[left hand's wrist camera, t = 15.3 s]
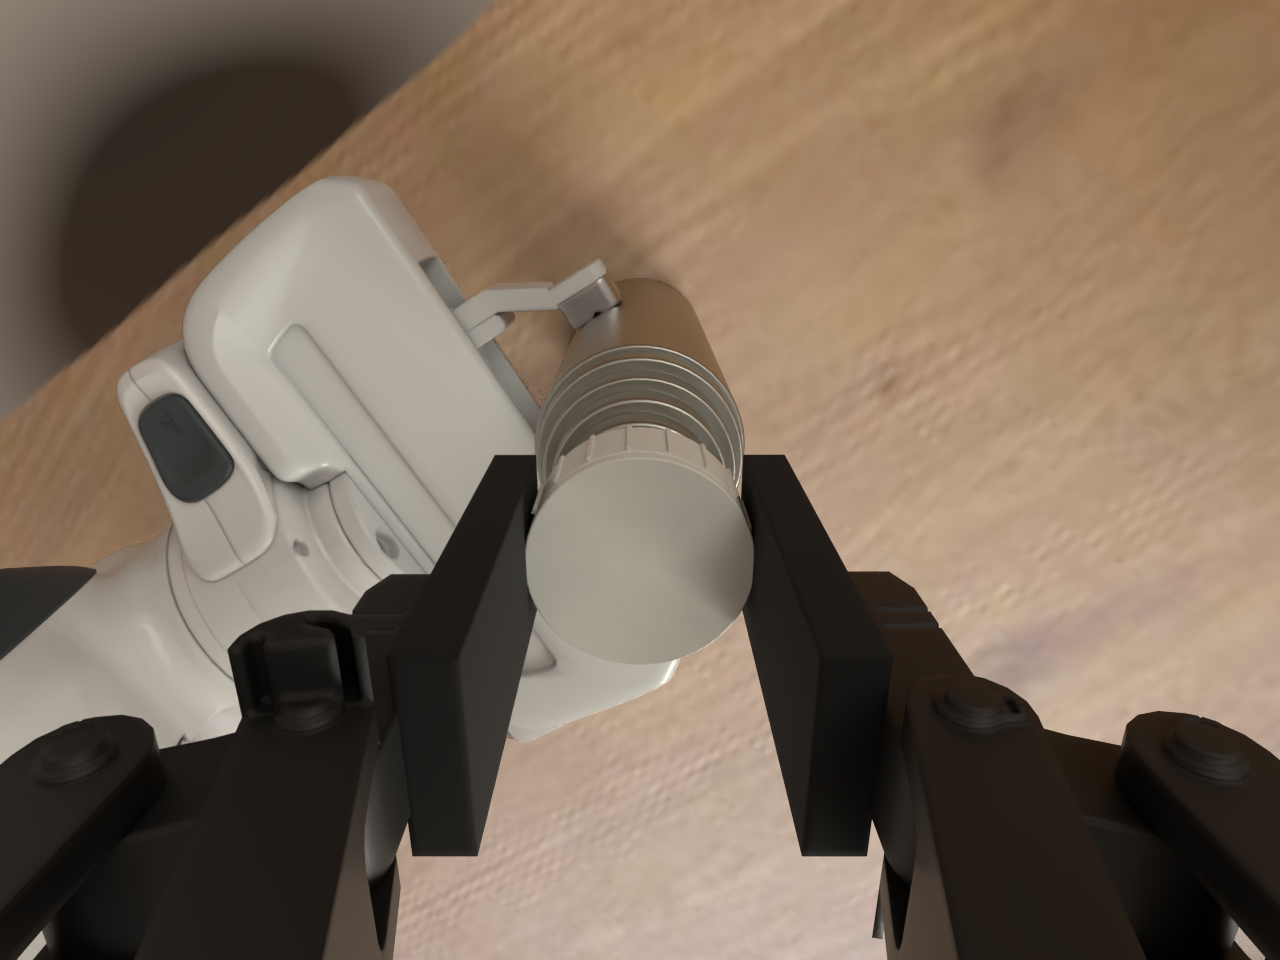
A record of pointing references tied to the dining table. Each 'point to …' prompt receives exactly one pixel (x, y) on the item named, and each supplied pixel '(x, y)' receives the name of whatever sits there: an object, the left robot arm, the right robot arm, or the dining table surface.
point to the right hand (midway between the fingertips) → (662, 361)
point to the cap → (639, 547)
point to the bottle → (640, 380)
